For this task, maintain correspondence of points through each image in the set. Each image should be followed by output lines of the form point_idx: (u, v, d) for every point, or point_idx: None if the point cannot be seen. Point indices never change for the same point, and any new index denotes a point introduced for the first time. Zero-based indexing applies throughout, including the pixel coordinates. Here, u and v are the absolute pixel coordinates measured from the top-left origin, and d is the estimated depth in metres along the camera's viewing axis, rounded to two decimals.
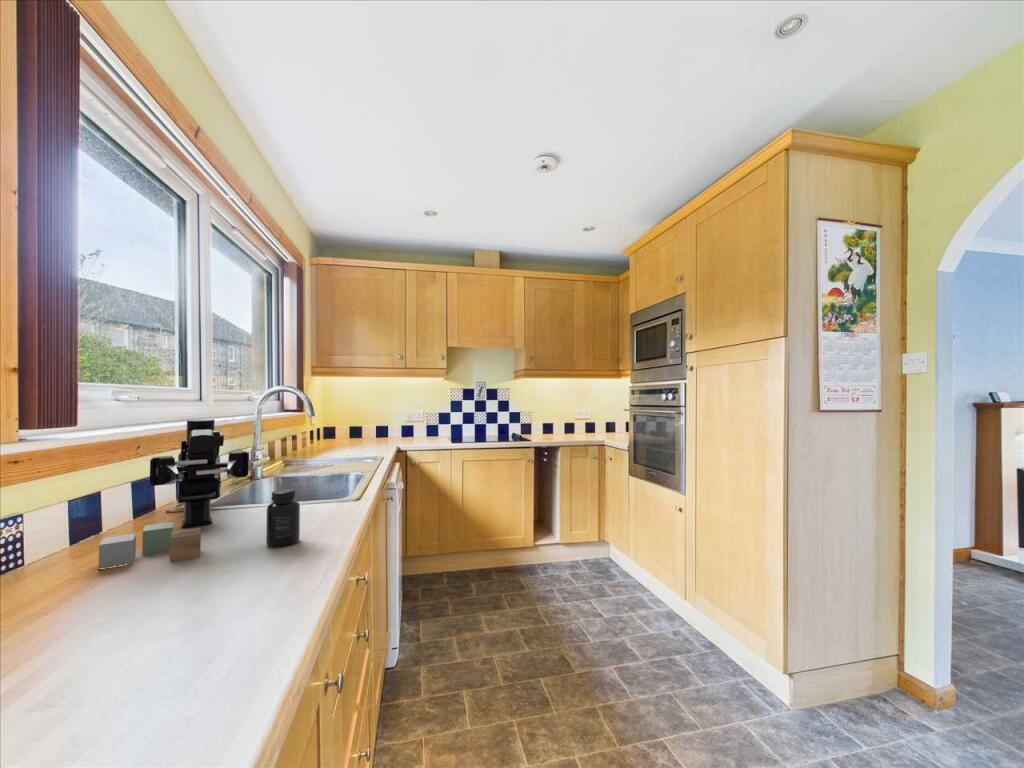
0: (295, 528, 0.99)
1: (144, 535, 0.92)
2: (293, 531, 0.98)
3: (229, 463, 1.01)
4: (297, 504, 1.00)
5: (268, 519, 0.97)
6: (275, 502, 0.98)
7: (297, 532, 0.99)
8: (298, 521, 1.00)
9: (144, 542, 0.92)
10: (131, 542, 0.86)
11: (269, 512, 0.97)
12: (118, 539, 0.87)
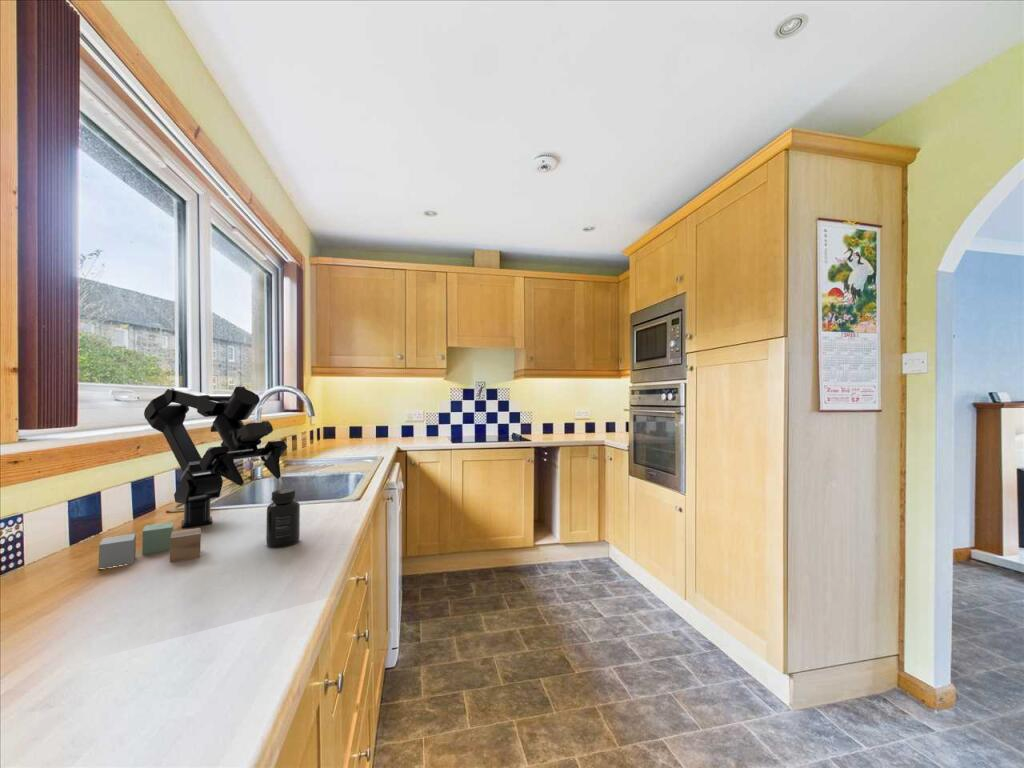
0: (295, 528, 0.99)
1: (144, 535, 0.92)
2: (293, 531, 0.98)
3: (276, 462, 1.08)
4: (297, 504, 1.00)
5: (268, 519, 0.97)
6: (275, 502, 0.98)
7: (297, 532, 0.99)
8: (298, 521, 1.00)
9: (144, 542, 0.92)
10: (131, 542, 0.86)
11: (269, 512, 0.97)
12: (118, 539, 0.87)
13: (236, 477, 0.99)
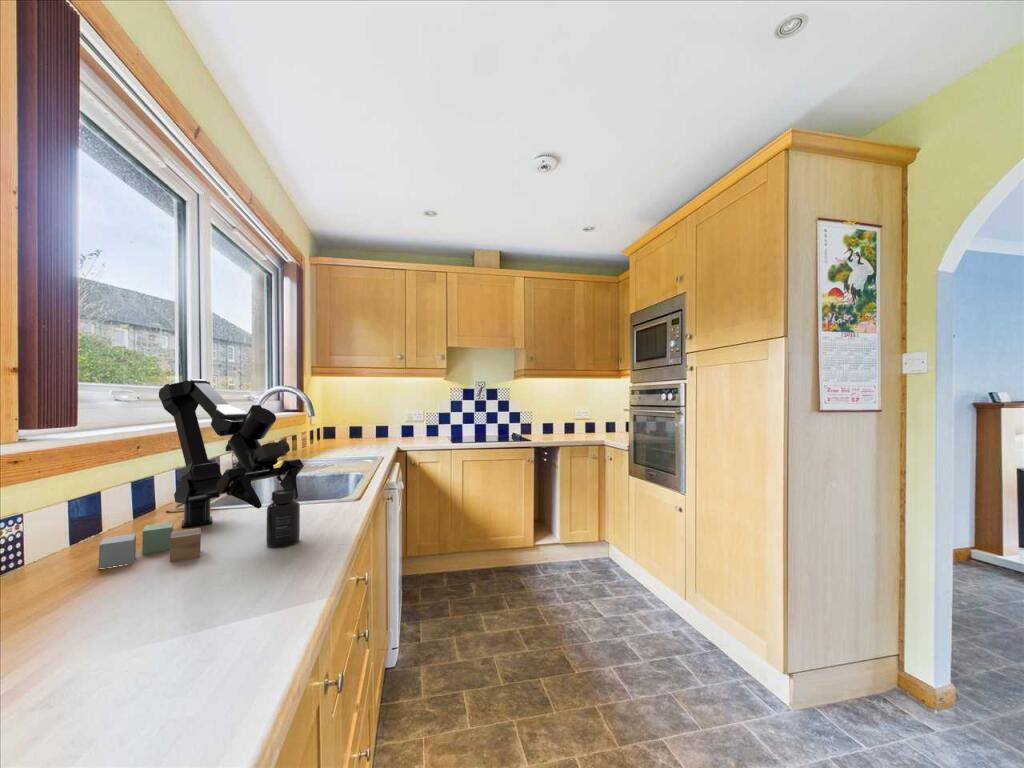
0: (295, 528, 0.99)
1: (144, 535, 0.92)
2: (293, 531, 0.98)
3: (293, 483, 1.06)
4: (297, 504, 1.00)
5: (268, 519, 0.97)
6: (275, 502, 0.98)
7: (297, 532, 0.99)
8: (298, 521, 1.00)
9: (144, 542, 0.92)
10: (131, 542, 0.87)
11: (269, 512, 0.97)
12: (118, 539, 0.87)
13: (254, 500, 0.96)
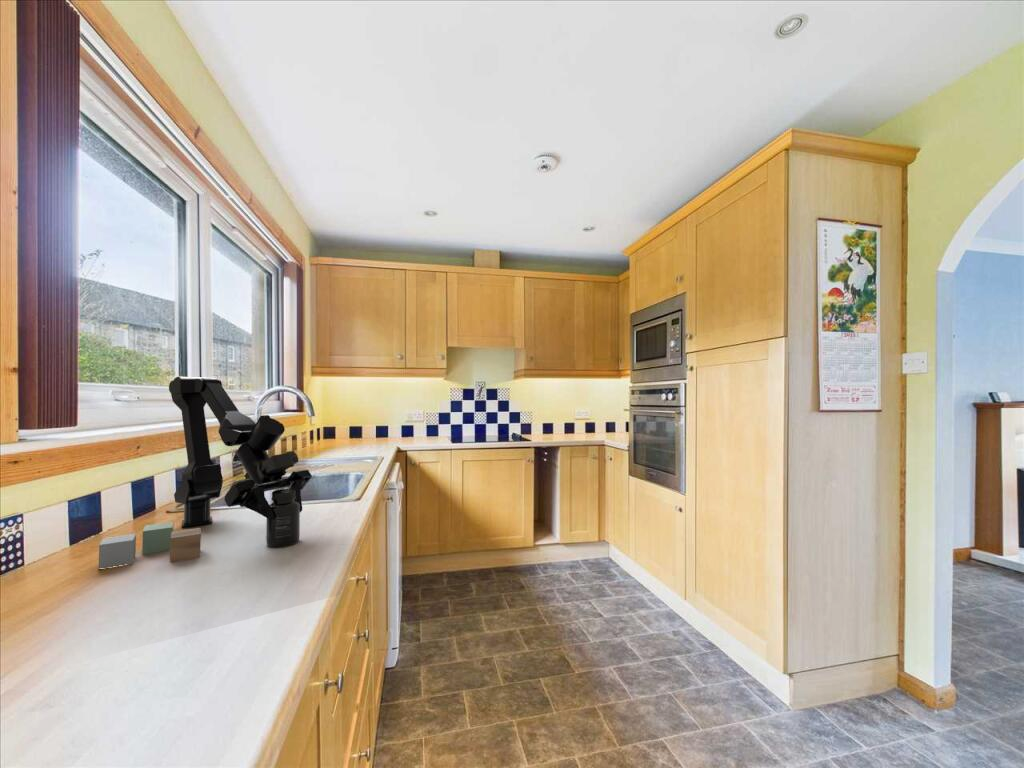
0: (295, 528, 0.99)
1: (144, 535, 0.92)
2: (293, 531, 0.98)
3: (297, 495, 1.03)
4: (297, 504, 1.00)
5: (268, 519, 0.97)
6: (275, 502, 0.98)
7: (297, 532, 0.99)
8: (298, 521, 1.00)
9: (144, 542, 0.92)
10: (131, 542, 0.86)
11: None
12: (118, 539, 0.87)
13: (267, 511, 0.96)
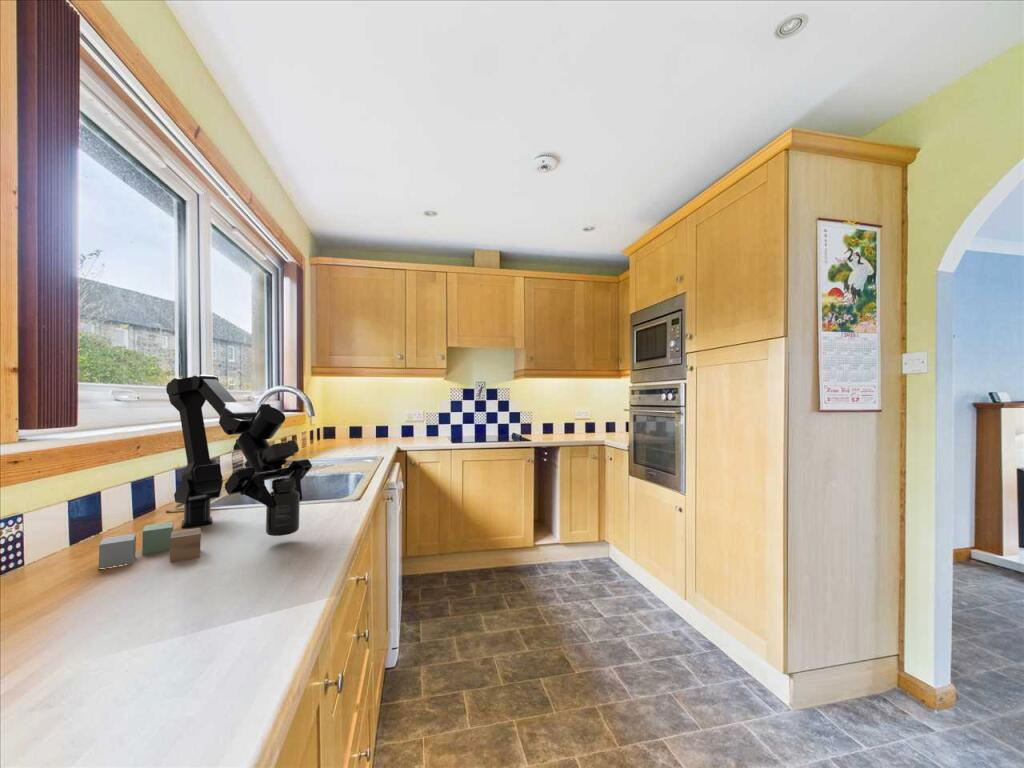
0: (295, 517, 0.99)
1: (144, 535, 0.92)
2: (292, 519, 0.98)
3: (297, 484, 1.03)
4: (297, 493, 1.00)
5: (268, 507, 0.97)
6: (275, 491, 0.98)
7: (297, 521, 0.99)
8: (298, 510, 1.00)
9: (144, 542, 0.92)
10: (131, 542, 0.87)
11: None
12: (118, 539, 0.87)
13: (267, 500, 0.96)
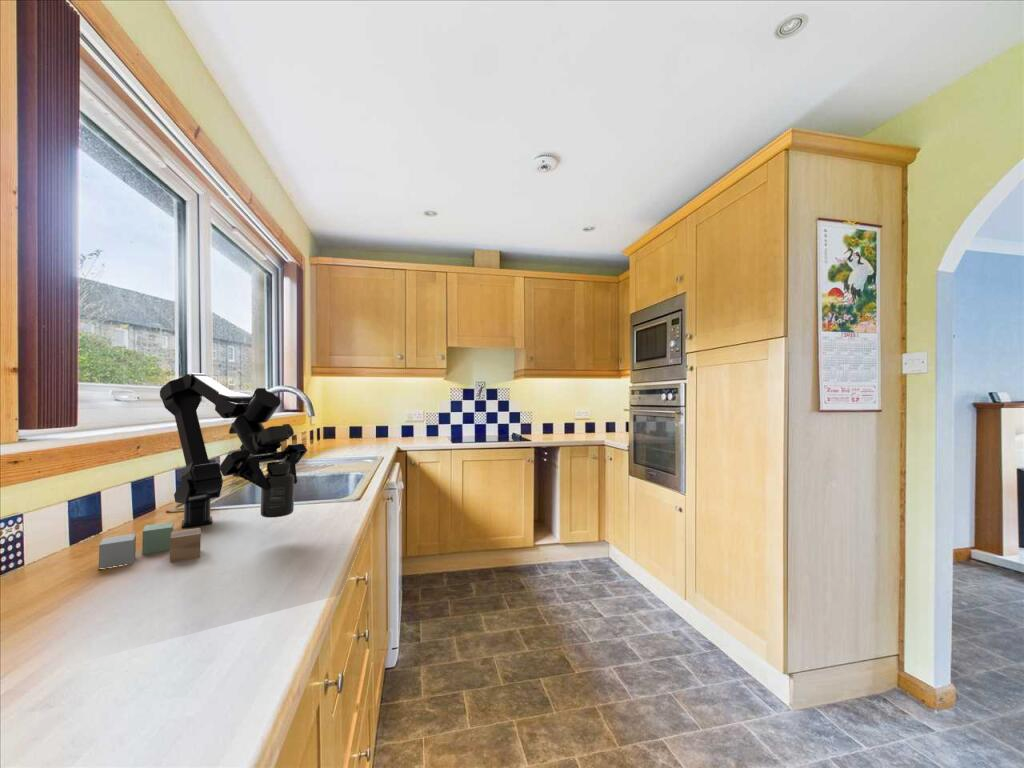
0: (290, 500, 1.00)
1: (144, 535, 0.92)
2: (287, 502, 0.99)
3: (292, 467, 1.04)
4: (292, 476, 1.01)
5: (263, 489, 0.98)
6: (270, 473, 0.99)
7: (291, 503, 1.00)
8: (292, 493, 1.01)
9: (144, 542, 0.92)
10: (131, 542, 0.87)
11: None
12: (118, 539, 0.87)
13: (262, 481, 0.97)
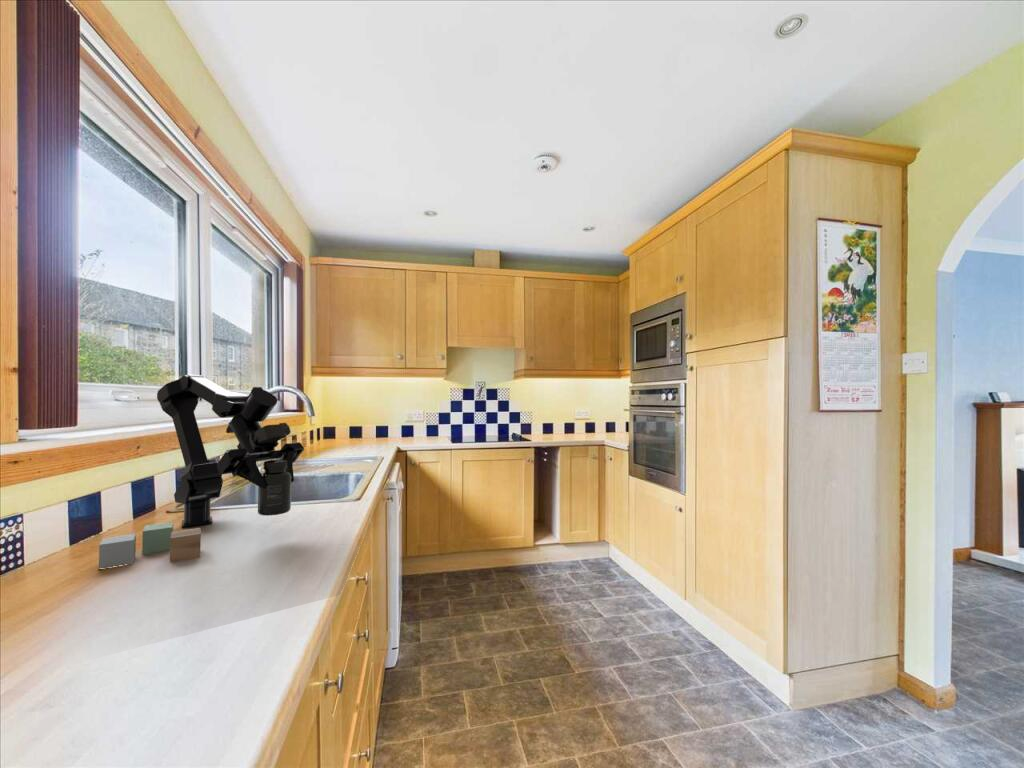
0: (287, 498, 1.00)
1: (144, 535, 0.92)
2: (284, 500, 0.99)
3: (289, 466, 1.05)
4: (288, 474, 1.01)
5: (260, 488, 0.98)
6: (267, 471, 0.99)
7: (288, 501, 1.01)
8: (289, 491, 1.01)
9: (144, 542, 0.92)
10: (131, 542, 0.87)
11: None
12: (118, 539, 0.87)
13: (259, 480, 0.97)
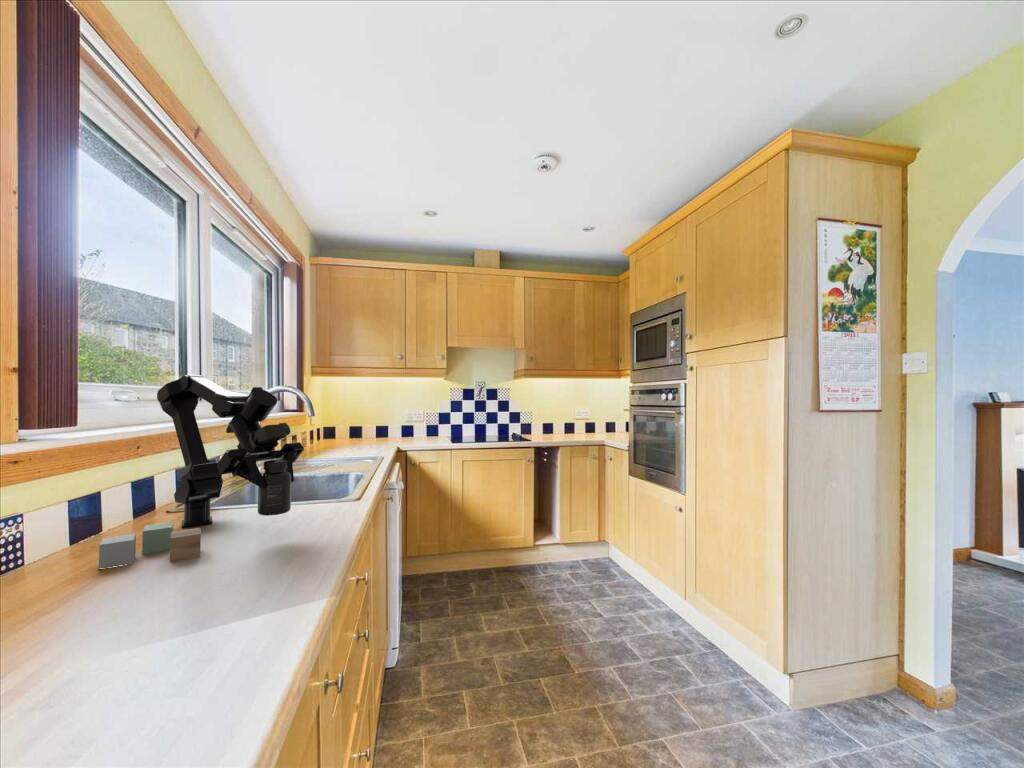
0: (287, 498, 1.00)
1: (144, 535, 0.92)
2: (284, 500, 0.99)
3: (289, 466, 1.05)
4: (288, 474, 1.01)
5: (260, 488, 0.98)
6: (267, 471, 0.99)
7: (288, 501, 1.01)
8: (289, 491, 1.01)
9: (144, 542, 0.92)
10: (131, 542, 0.87)
11: None
12: (118, 539, 0.87)
13: (259, 480, 0.97)
